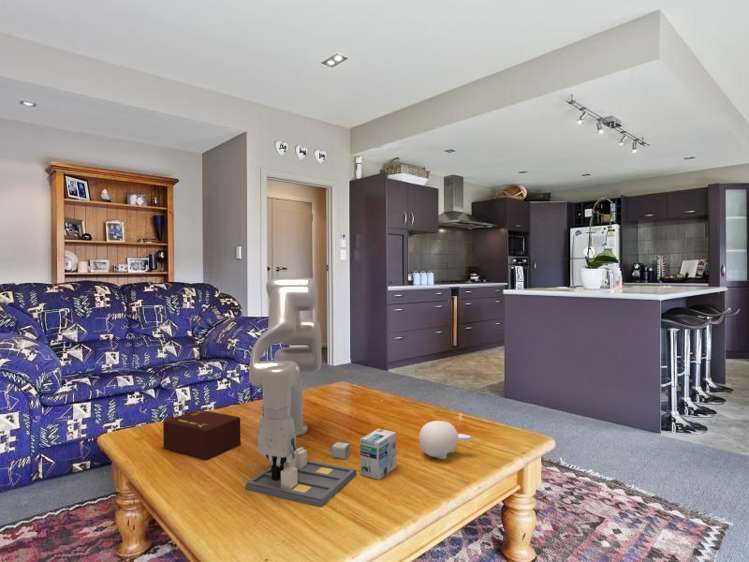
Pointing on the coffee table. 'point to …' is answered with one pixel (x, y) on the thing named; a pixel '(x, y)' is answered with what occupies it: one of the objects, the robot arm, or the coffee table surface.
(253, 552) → the coffee table surface
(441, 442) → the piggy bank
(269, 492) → the switch bank
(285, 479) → the tab
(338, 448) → the usb wall charger
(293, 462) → the tab
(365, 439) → the light bulb box
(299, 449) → the tab
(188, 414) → the box
